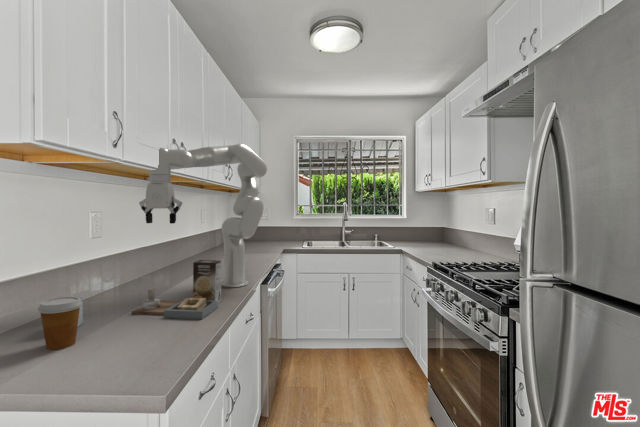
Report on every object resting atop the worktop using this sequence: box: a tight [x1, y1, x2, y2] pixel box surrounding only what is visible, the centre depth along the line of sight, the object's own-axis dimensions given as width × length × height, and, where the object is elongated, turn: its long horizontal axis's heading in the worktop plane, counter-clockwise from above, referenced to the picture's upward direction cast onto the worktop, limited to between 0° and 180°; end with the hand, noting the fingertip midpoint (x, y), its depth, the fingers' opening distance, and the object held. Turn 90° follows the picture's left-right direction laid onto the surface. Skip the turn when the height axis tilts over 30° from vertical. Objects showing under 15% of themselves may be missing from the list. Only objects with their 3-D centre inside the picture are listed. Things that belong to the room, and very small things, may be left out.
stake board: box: [131, 288, 182, 316], centre depth 128 cm, size 14×12×8 cm
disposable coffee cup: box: [37, 296, 82, 351], centre depth 95 cm, size 10×10×12 cm
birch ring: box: [178, 296, 206, 310], centre depth 124 cm, size 7×9×2 cm
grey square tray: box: [164, 299, 219, 320], centre depth 124 cm, size 13×13×2 cm
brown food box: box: [192, 259, 222, 304], centre depth 136 cm, size 9×6×16 cm
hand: (160, 223), depth 140 cm, fingers open, 9 cm apart
